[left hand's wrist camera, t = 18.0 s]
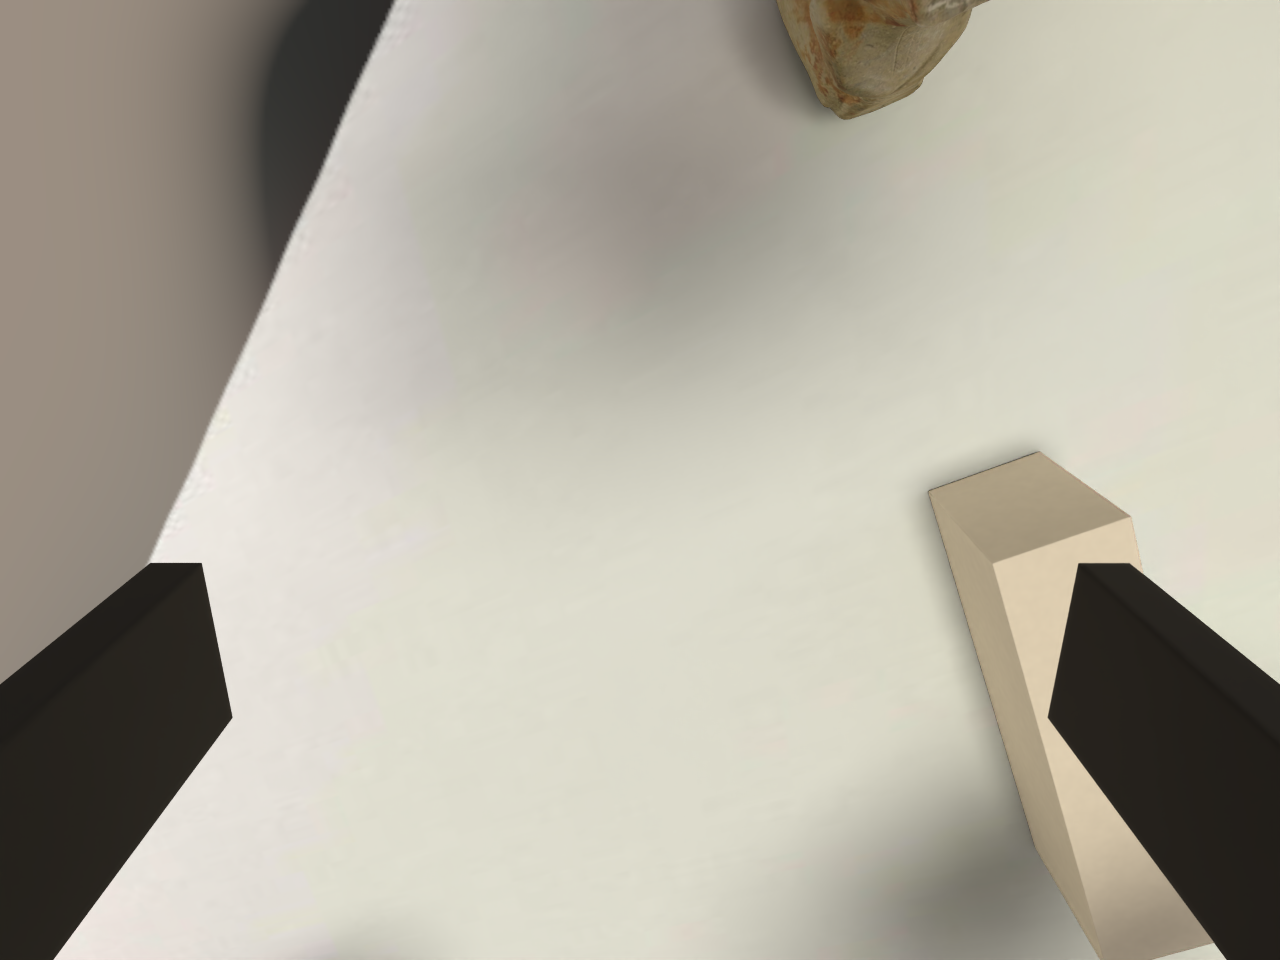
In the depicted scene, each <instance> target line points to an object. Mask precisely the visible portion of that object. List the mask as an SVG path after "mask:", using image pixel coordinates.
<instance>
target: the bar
mask: <svg viewBox="0 0 1280 960" xmlns="http://www.w3.org/2000/svg"><path fill="white" fill-rule="evenodd" d="M928 493H929V496H930V500H931V503H932V506H933V509H934V513H935V516H936V519H937V523H938V526H939V529H940V533H941V536H942V539H943V543H944V546H945V549H946V553H947V556H948V559H949V563H950V566H951V569H952V573H953V576H954V579H955V583H956V586H957V589H958V593H959V596H960V599H961V603H962V606H963V609H964V613H965V616H966V619H967V623H968V626H969V629H970V633H971V636H972V639H973V642H974V646H975V649H976V652H977V656H978V659H979V662H980V666H981V669H982V672H983V676H984V679H985V682H986V686H987V689H988V692H989V696H990V699H991V702H992V706H993V709H994V712H995V716H996V719H997V722H998V726H999V729H1000V732H1001V736H1002V739H1003V742H1004V746H1005V749H1006V752H1007V756H1008V759H1009V762H1010V766H1011V769H1012V772H1013V775H1014V779H1015V782H1016V785H1017V789H1018V792H1019V795H1020V799H1021V802H1022V805H1023V809H1024V812H1025V815H1026V819H1027V822H1028V825H1029V829H1030V832H1031V835H1032V839H1033V842H1034V845H1035V848H1036V850H1037V852H1038V853H1039V855H1040V857H1041V859H1042V860H1043V862H1044V864H1045V866H1046V867H1047V869H1048V871H1049V872H1050V874H1051V876H1052V878H1053V879H1054V881H1055V883H1056V885H1057V886H1058V888H1059V890H1060V891H1061V893H1062V895H1063V897H1064V898H1065V900H1066V902H1067V904H1068V905H1069V907H1070V909H1071V910H1072V912H1073V914H1074V916H1075V917H1076V919H1077V921H1078V923H1079V924H1080V926H1081V928H1082V929H1083V931H1084V933H1085V935H1086V936H1087V938H1088V940H1089V941H1090V943H1091V945H1092V947H1093V948H1094V950H1095V952H1096V954H1097V955H1098V957H1099V959H1100V960H1152V959H1156V958H1159V957H1163V956H1167V955H1170V954H1174V953H1178V952H1181V951H1185V950H1189V949H1192V948H1196V947H1200V946H1204V945H1207V944H1211V943H1214V942H1213V941H1212V939H1211V938H1210V937H1209V935H1208V934H1207V932H1206V931H1205V930H1204V928H1203V927H1202V926H1201V924H1200V923H1199V922H1198V920H1197V919H1196V918H1195V916H1194V915H1193V914H1192V912H1191V911H1190V910H1189V908H1188V907H1187V905H1186V904H1185V903H1184V901H1183V900H1182V899H1181V897H1180V896H1179V895H1178V893H1177V892H1176V891H1175V889H1174V888H1173V887H1172V885H1171V884H1170V883H1169V881H1168V880H1167V878H1166V877H1165V876H1164V874H1163V873H1162V872H1161V870H1160V869H1159V868H1158V866H1157V865H1156V864H1155V862H1154V861H1153V860H1152V858H1151V857H1150V855H1149V854H1148V853H1147V851H1146V850H1145V849H1144V847H1143V846H1142V845H1141V843H1140V842H1139V841H1138V839H1137V838H1136V837H1135V835H1134V834H1133V833H1132V831H1131V830H1130V828H1129V827H1128V826H1127V824H1126V823H1125V822H1124V820H1123V819H1122V818H1121V816H1120V815H1119V814H1118V812H1117V811H1116V810H1115V808H1114V807H1113V806H1112V804H1111V803H1110V801H1109V800H1108V799H1107V797H1106V796H1105V795H1104V793H1103V792H1102V791H1101V789H1100V788H1099V787H1098V785H1097V784H1096V783H1095V781H1094V780H1093V778H1092V777H1091V776H1090V774H1089V773H1088V772H1087V770H1086V769H1085V768H1084V766H1083V765H1082V764H1081V762H1080V761H1079V760H1078V758H1077V757H1076V756H1075V754H1074V753H1073V751H1072V750H1071V749H1070V747H1069V746H1068V745H1067V743H1066V742H1065V741H1064V739H1063V738H1062V737H1061V735H1060V734H1059V733H1058V731H1057V730H1056V729H1055V727H1054V726H1053V724H1052V723H1051V722H1050V720H1049V719H1048V718H1047V717H1048V712H1049V707H1050V702H1051V697H1052V692H1053V687H1054V682H1055V677H1056V672H1057V667H1058V662H1059V657H1060V652H1061V647H1062V642H1063V637H1064V632H1065V627H1066V622H1067V617H1068V612H1069V607H1070V602H1071V597H1072V592H1073V587H1074V582H1075V577H1076V572H1077V567H1078V563H1130V564H1131V565H1133V566H1134V567H1135V568H1136V569H1138V570H1139V571H1140V572H1141V573H1143V570H1142V565H1141V560H1140V556H1139V551H1138V546H1137V542H1136V537H1135V532H1134V528H1133V523H1132V518H1131V516H1130V515H1128V514H1127V513H1125V512H1124V511H1123V510H1121V509H1120V508H1118V507H1117V506H1116V505H1114V504H1113V503H1111V502H1110V501H1109V500H1107V499H1106V498H1104V497H1103V496H1102V495H1100V494H1099V493H1097V492H1096V491H1095V490H1093V489H1092V488H1090V487H1089V486H1088V485H1086V484H1085V483H1083V482H1082V481H1081V480H1079V479H1078V478H1076V477H1075V476H1074V475H1072V474H1071V473H1069V472H1068V471H1067V470H1065V469H1064V468H1062V467H1061V466H1059V465H1058V464H1057V463H1055V462H1054V461H1052V460H1051V459H1050V458H1048V457H1047V456H1045V455H1044V454H1043V453H1041V452H1037V453H1035V454H1032V455H1029V456H1026V457H1023V458H1021V459H1018V460H1015V461H1012V462H1009V463H1006V464H1004V465H1001V466H998V467H995V468H992V469H990V470H987V471H984V472H981V473H978V474H975V475H973V476H970V477H967V478H964V479H961V480H959V481H956V482H953V483H950V484H947V485H944V486H942V487H939V488H936V489H933V490H930V491H928Z"/></svg>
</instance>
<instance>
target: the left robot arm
mask: <svg viewBox="0 0 1280 960" xmlns="http://www.w3.org/2000/svg"><path fill="white" fill-rule="evenodd" d="M232 718H233V717H232V712H231V707H230V702H229V697H228V692H227V687H226V682H225V677H224V672H223V667H222V662H221V657H220V652H219V647H218V642H217V637H216V632H215V627H214V622H213V617H212V612H211V607H210V602H209V597H208V592H207V587H206V582H205V577H204V572H203V567H202V563H150V564H149V565H147V566H146V567H145V568H144V569H142V570H141V571H140V572H139V573H138V574H136V575H135V576H134V577H133V578H131V579H130V580H129V581H128V582H126V583H125V584H124V585H123V586H121V587H120V588H119V589H118V590H117V591H115V592H114V593H113V594H112V595H110V596H109V597H108V598H107V599H105V600H104V601H103V602H102V603H100V604H99V605H98V606H97V607H95V608H94V609H93V610H92V611H91V612H89V613H88V614H87V615H86V616H84V617H83V618H82V619H81V620H79V621H78V622H77V623H76V624H74V625H73V626H72V627H71V628H69V629H68V630H67V631H66V632H65V633H63V634H62V635H61V636H60V637H58V638H57V639H56V640H55V641H53V642H52V643H51V644H50V645H48V646H47V647H46V648H45V649H43V650H42V651H41V652H40V653H39V654H37V655H36V656H35V657H34V658H32V659H31V660H30V661H29V662H27V663H26V664H25V665H24V666H22V667H21V668H20V669H19V670H18V671H16V672H15V673H14V674H13V675H11V676H10V677H9V678H8V679H6V680H5V681H4V682H3V683H1V684H0V960H53V959H54V958H55V957H56V955H57V954H58V953H59V951H60V950H61V949H62V947H63V946H64V945H65V943H66V942H67V941H68V939H69V938H70V937H71V935H72V934H73V932H74V931H75V930H76V928H77V927H78V926H79V924H80V923H81V922H82V920H83V919H84V918H85V916H86V915H87V914H88V912H89V911H90V910H91V908H92V907H93V905H94V904H95V903H96V901H97V900H98V899H99V897H100V896H101V895H102V893H103V892H104V891H105V889H106V888H107V887H108V885H109V884H110V883H111V881H112V880H113V878H114V877H115V876H116V874H117V873H118V872H119V870H120V869H121V868H122V866H123V865H124V864H125V862H126V861H127V860H128V858H129V857H130V855H131V854H132V853H133V851H134V850H135V849H136V847H137V846H138V845H139V843H140V842H141V841H142V839H143V838H144V837H145V835H146V834H147V833H148V831H149V830H150V828H151V827H152V826H153V824H154V823H155V822H156V820H157V819H158V818H159V816H160V815H161V814H162V812H163V811H164V810H165V808H166V807H167V806H168V804H169V803H170V801H171V800H172V799H173V797H174V796H175V795H176V793H177V792H178V791H179V789H180V788H181V787H182V785H183V784H184V783H185V781H186V780H187V778H188V777H189V776H190V774H191V773H192V772H193V770H194V769H195V768H196V766H197V765H198V764H199V762H200V761H201V760H202V758H203V757H204V756H205V754H206V753H207V751H208V750H209V749H210V747H211V746H212V745H213V743H214V742H215V741H216V739H217V738H218V737H219V735H220V734H221V733H222V731H223V730H224V729H225V727H226V726H227V724H228V723H229V722H230V720H231V719H232ZM1047 718H1048V719H1049V720H1050V722H1051V723H1052V724H1053V726H1054V727H1055V729H1056V730H1057V731H1058V733H1059V734H1060V735H1061V737H1062V738H1063V739H1064V741H1065V742H1066V743H1067V745H1068V746H1069V747H1070V749H1071V750H1072V751H1073V753H1074V754H1075V756H1076V757H1077V758H1078V760H1079V761H1080V762H1081V764H1082V765H1083V766H1084V768H1085V769H1086V770H1087V772H1088V773H1089V774H1090V776H1091V777H1092V778H1093V780H1094V781H1095V783H1096V784H1097V785H1098V787H1099V788H1100V789H1101V791H1102V792H1103V793H1104V795H1105V796H1106V797H1107V799H1108V800H1109V801H1110V803H1111V804H1112V806H1113V807H1114V808H1115V810H1116V811H1117V812H1118V814H1119V815H1120V816H1121V818H1122V819H1123V820H1124V822H1125V823H1126V824H1127V826H1128V827H1129V828H1130V830H1131V831H1132V833H1133V834H1134V835H1135V837H1136V838H1137V839H1138V841H1139V842H1140V843H1141V845H1142V846H1143V847H1144V849H1145V850H1146V851H1147V853H1148V854H1149V855H1150V857H1151V858H1152V860H1153V861H1154V862H1155V864H1156V865H1157V866H1158V868H1159V869H1160V870H1161V872H1162V873H1163V874H1164V876H1165V877H1166V878H1167V880H1168V881H1169V883H1170V884H1171V885H1172V887H1173V888H1174V889H1175V891H1176V892H1177V893H1178V895H1179V896H1180V897H1181V899H1182V900H1183V901H1184V903H1185V904H1186V905H1187V907H1188V908H1189V910H1190V911H1191V912H1192V914H1193V915H1194V916H1195V918H1196V919H1197V920H1198V922H1199V923H1200V924H1201V926H1202V927H1203V928H1204V930H1205V931H1206V932H1207V934H1208V935H1209V937H1210V938H1211V939H1212V941H1213V942H1214V943H1215V945H1216V946H1217V947H1218V949H1219V950H1220V951H1221V953H1222V954H1223V955H1224V957H1225V958H1226V960H1280V684H1279V683H1277V682H1276V681H1275V680H1274V679H1272V678H1271V677H1270V676H1269V675H1267V674H1266V673H1265V672H1264V671H1263V670H1261V669H1260V668H1259V667H1258V666H1256V665H1255V664H1254V663H1253V662H1251V661H1250V660H1249V659H1248V658H1246V657H1245V656H1244V655H1243V654H1241V653H1240V652H1239V651H1238V650H1237V649H1235V648H1234V647H1233V646H1232V645H1230V644H1229V643H1228V642H1227V641H1225V640H1224V639H1223V638H1222V637H1220V636H1219V635H1218V634H1217V633H1216V632H1214V631H1213V630H1212V629H1211V628H1209V627H1208V626H1207V625H1206V624H1204V623H1203V622H1202V621H1201V620H1199V619H1198V618H1197V617H1196V616H1194V615H1193V614H1192V613H1191V612H1190V611H1188V610H1187V609H1186V608H1185V607H1183V606H1182V605H1181V604H1180V603H1178V602H1177V601H1176V600H1175V599H1173V598H1172V597H1171V596H1170V595H1168V594H1167V593H1166V592H1165V591H1164V590H1162V589H1161V588H1160V587H1159V586H1157V585H1156V584H1155V583H1154V582H1152V581H1151V580H1150V579H1149V578H1147V577H1146V576H1145V575H1144V574H1143V573H1141V572H1140V571H1139V570H1138V569H1136V568H1135V567H1134V566H1133V565H1131V564H1130V563H1078V567H1077V572H1076V577H1075V582H1074V587H1073V592H1072V597H1071V602H1070V607H1069V612H1068V617H1067V622H1066V627H1065V632H1064V637H1063V642H1062V647H1061V652H1060V657H1059V662H1058V667H1057V672H1056V677H1055V682H1054V687H1053V692H1052V697H1051V702H1050V707H1049V712H1048V717H1047Z"/></svg>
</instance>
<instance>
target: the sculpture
mask: <svg viewBox="0 0 1280 960" xmlns="http://www.w3.org/2000/svg"><path fill="white" fill-rule="evenodd" d="M776 1H777V4H778V8H779V11H780V14H781V17H782V19H783V22H784V24H785V27H786V29H787V31H788V33H789V36H790V38H791V40H792V43H793V45H794V47H795V49H796V51H797V53H798V55H799V56H800V58H801V60H802V62H803V64H804V66H805V68H806V70H807V72H808V74H809V77H810V79H811V82H812V84H813V87H814V89H815V92H816V95H817V97H818V99H819V100H820V102H821V103H822V105H823V106H824V107H830V108H831V109H832V110H833V112H834V113H835V114H836V115H837V116H838V117H839V118H841V119H844V120H845V119H852V118H855V117H858V116H861V115H864V114H867V113H870V112H873V111H875V110H878V109H880V108H882V107H885V106H887V105H889V104H891V103H894V102H896V101H898V100H900V99H903V98H905V97H907V96H909V95H910V94H912V93H913V92H914V91H915V90H917V89H918V88H919V87H920V86H921V84H922V82H923V79H924V77H925V76H926V75H927V74H928V73H929V72H930V71H931V70H932V69H933V68H934V67H935V66H936V65H937V64H938V63H939V62H940V60H941V59H942V58H943V57H944V56H945V54H946V53H947V52H948V51H949V50H950V48H951V47H952V46H953V45H954V43H955V42H956V41H957V40H958V39H959V37H960V36H961V34H962V33H963V31H964V30H965V28H966V26H967V24H968V21H969V18H970V15H971V11H972V8H973V7H975V6H978V5H980V4H982V3H984V2H987V1H989V0H776Z"/></svg>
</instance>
